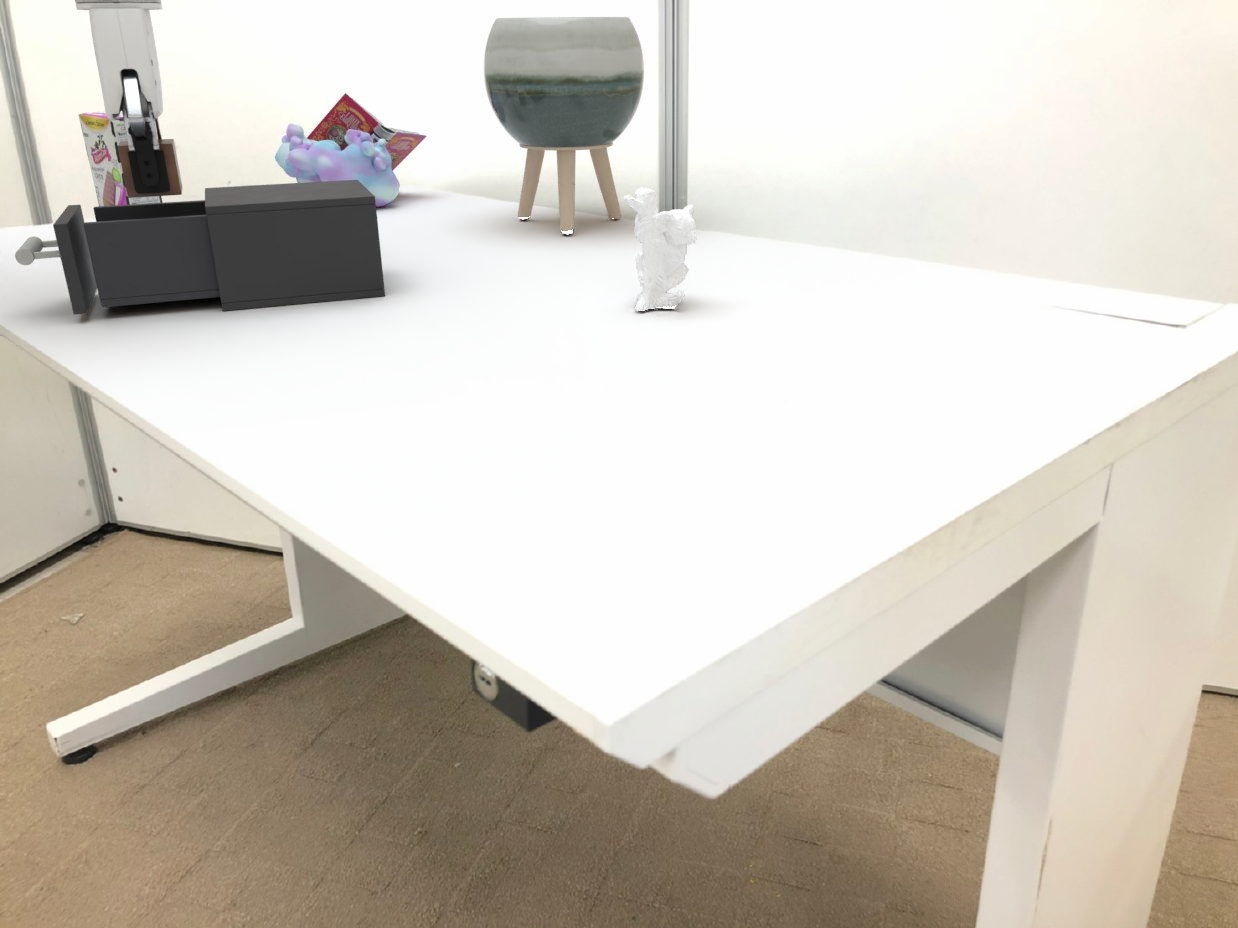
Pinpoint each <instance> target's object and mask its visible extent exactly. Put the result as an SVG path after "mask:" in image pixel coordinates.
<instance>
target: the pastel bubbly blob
mask: <svg viewBox="0 0 1238 928" xmlns="http://www.w3.org/2000/svg"><path fill="white" fill-rule="evenodd" d="M285 133H286V135H283V136H282V137H281V144H280V146H279V147H278V149H277V150H276V153H275V155H274V159H275V162H276V163H277V164H278V166H279V167H280V168H281V169H282V170H283V171H284V173H285V174H286V175H287V176H288V177H290V178H294V179H295V180H296V183H306V182H324V181H342V180H358V181H359V182H360V183H362V184H363V185H364V186H365V187H366V188H367V189H368V190H369V191H370V192H371V193H372V194H373V195H374V196H375V202H376V203H375V204H376V208H380V207H384V206H385V205H388V204H390V203H392V202H393V201H395V199H396V198H397V196H398V195H399V191H400V186H401V184H400V181H399V179H398V178H397V175H396V174H395V172H394V170H395V169H396V168H397V167H398V166H399V165H401V163H402V162H404V160H405V159H406V158H407V157H408V156H409V155H410V154H411V153H412V152H413V151H414V150H415V149H416V148H417V147H418V146H419V145H420V144H421V143H422V142H423V141H424V140H425V139H426V138H427V134H426V135H424V134H420V133H419V132H417V131H410V130H404V129H399V128H393V127H386V126H385V124H384V123H383V122H382V121H381V120H380V119H379V118H377V117H376V116H375V115H374V114H372V113H371V112H370V111H368V109H366V108H364V107H363V106H362V105H361V104H359V102H357V100H355V99H354V98H353V97H351V96H350V95H349V94H348V93H347V92H345V93H344V94H343V95H342V96H341V97H340V99H339V100H338V101H337V102H336V103H335V104H334V105H333V106H332V108H331V109H330V110H329V111H328V113H327V114H326V115H325V116H324V117H323V118H322V119H321V121H320V122H319V123H318V124H317V125H316V126H315V127H314V129H313V130H312V131H311V132H310V133H309V135H307V136H306V135H305V131H304V129H303V127H302V126H301V125H300V124H294V123H289V124H288V125H287V127H286V132H285Z"/></svg>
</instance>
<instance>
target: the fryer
mask: <svg viewBox="0 0 1238 928" xmlns="http://www.w3.org/2000/svg"><path fill="white" fill-rule="evenodd" d="M204 200H205V210H206V216H207V222H208V228H209V234H210V240H211V246H212V251H213V257H214V263H215V269H216V275H217V281H218V287H219V293H220V297H219V298H220V303H221V304H220V305H221V310H222V312H229V311H239V310H250V309H260V308H261V309H262V308H271V307H282V306H293V305H303V304H314V303H324V302H336V301H346V300H359V299H368V298H378V297H379V298H380V297H385V296H386V291H385V281H384V271H383V261H382V253H381V252H382V251H381V240H380V233H379V223H378V222H379V221H378V213H377V207H376V204H375V203H376V202H375V196H374V195H373V194H372V193H371V192H370V191H369V190H368V189H367V188H366V187H365V186H364V185H363V184H362V183H360V182H359V181H358V180H342V181H324V182H306V183H297V182H292V183H291V182H289V183H273V184H271V183H270V184H254V185H253V184H252V185H238V186H237V185H236V186H218V187H217V186H216V187H205V188H204Z"/></svg>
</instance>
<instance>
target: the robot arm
mask: <svg viewBox="0 0 1238 928" xmlns="http://www.w3.org/2000/svg"><path fill="white" fill-rule="evenodd" d="M74 3H75V8H76V10H78V11H88V12H89V14H88V15H89V22H90V23H89V25H90V32H91V38H92V43H93V51H94V56H95V61H96V66H97V72H98V77H99V82H100V88H101V93H102V99H103V105H104V112H106V116H107V117H108V118H109V119H111V120H116V119H117V118H118V117H119V116H120V113H123V119H124V120H123V121H124V124H125V130H126V136H127V142H128V147H129V151H130V152H128V157H129V162H130V167H131V172H132V177H133V182H134V187H135V191H136V192H137V193H138V194H147V193H164V192H169V190H170V185H169V179H168V174H167V168H166V163H165V158H164V152H163V150H160V147H159V141H158V140H159V139H163V137H162V132H161V128H160V122H159V117H160V116H161V115H162V114H163V111H164V107H163V106H164V104H163V87H162V79H161V71H160V64H159V58H158V52H157V47H156V40H155V33H154V29H153V23H152V18H151V12H150V11H156V10H157V11H158V10H163V4H162V0H74Z"/></svg>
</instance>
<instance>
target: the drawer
mask: <svg viewBox="0 0 1238 928" xmlns="http://www.w3.org/2000/svg"><path fill="white" fill-rule="evenodd" d="M93 213H94V217H95V218H94V219H95V221H87V222H86V221H85V220H84V219H85V218H84V214H83V209H82V205H81V204H69V205H68V204H67V206H66V207H65V209H64V210H63V211H62V212H61V214H60V215H59V217H58V218H57V219H56V220H55V222H54V223H53V225H52V226H53V231H54V235H55V239H54V240H42V239H41V238H39V236H34V235H33V236H29V237H28V238H27V239H26V240H25V241H24V242H23V244H22V245H21V246H20V247H18V249H17V250H16V251H15V254H14V258H15V261H16V263H19V264H20V265H22V266H29V265H32V264H33V262H34V261H35V260H40V259H42V260H43V259H54V258H56V259H57V258H60V262H61V266H62V271H63V274H64V278H65V279H64V280H65V284H66V287H67V292H68V296H69V301H70V304H71V309H72V313H73V315H74V316H75V315H87V314H88V312H89V310H90V308H91V304H92V302H93V300H94V297H95V295H96V293H98V298H99V301H100V302H99V303H100V307H101V308H112V307H123V306H133V305H135V306H136V305H144V304H146V305H147V304H157V303H166V302H167V303H169V302H179V301H180V302H181V301H189V300H200V299H212V298H213V299H214V298H220V293H219V287H218V281H217V275H216V269H215V263H214V257H213V251H212V246H211V240H210V234H209V228H208V222H207V216H206V210H205V199H200V200H186V201H185V200H181V201H169V202H167V201H165V202H162V203H148V204H131V205H115V206H99V205H98V206H93ZM45 248H57V249H58V250H56V249H55V250H47V251H46V250H44V251H42V250H43V249H45Z"/></svg>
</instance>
